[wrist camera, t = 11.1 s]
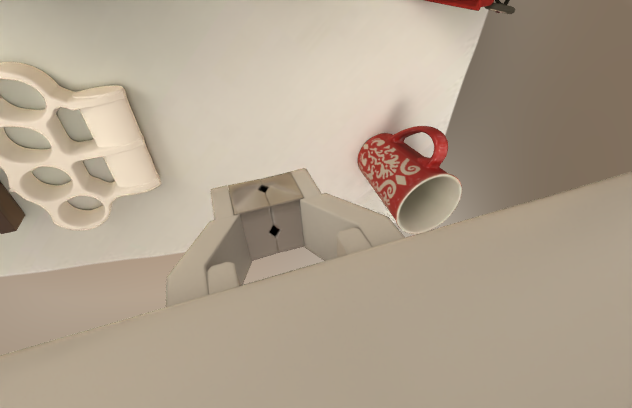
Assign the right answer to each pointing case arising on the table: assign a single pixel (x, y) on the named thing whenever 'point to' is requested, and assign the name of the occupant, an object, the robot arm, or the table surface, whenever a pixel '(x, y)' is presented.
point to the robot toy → (479, 5)
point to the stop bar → (9, 212)
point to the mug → (411, 179)
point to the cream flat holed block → (74, 148)
